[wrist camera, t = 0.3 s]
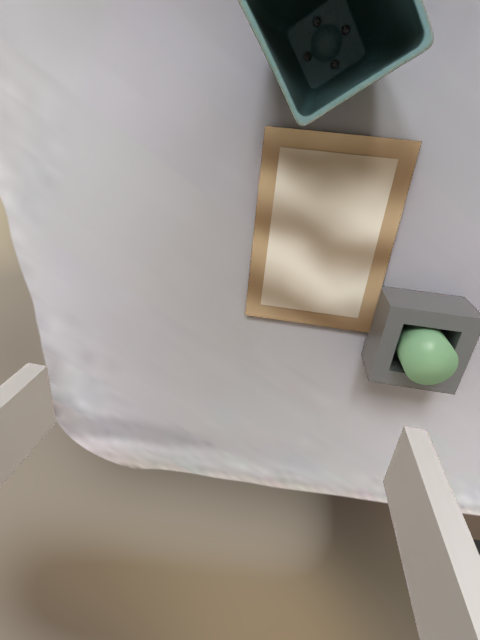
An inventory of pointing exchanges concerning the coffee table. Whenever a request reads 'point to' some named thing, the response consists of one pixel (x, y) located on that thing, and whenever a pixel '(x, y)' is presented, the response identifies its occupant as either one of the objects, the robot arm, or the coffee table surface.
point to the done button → (426, 355)
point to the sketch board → (326, 225)
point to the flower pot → (335, 46)
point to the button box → (427, 311)
